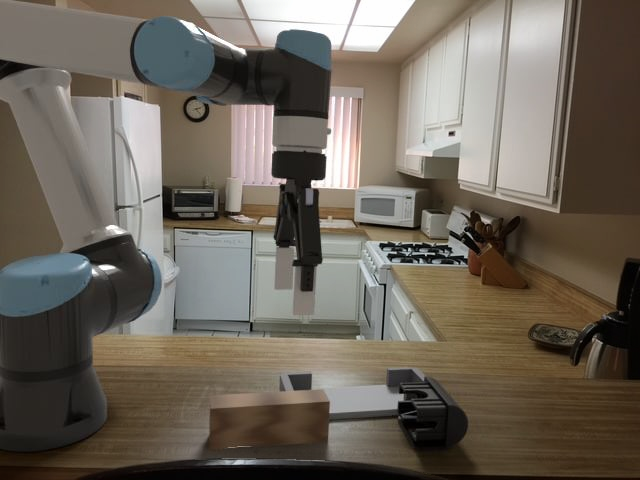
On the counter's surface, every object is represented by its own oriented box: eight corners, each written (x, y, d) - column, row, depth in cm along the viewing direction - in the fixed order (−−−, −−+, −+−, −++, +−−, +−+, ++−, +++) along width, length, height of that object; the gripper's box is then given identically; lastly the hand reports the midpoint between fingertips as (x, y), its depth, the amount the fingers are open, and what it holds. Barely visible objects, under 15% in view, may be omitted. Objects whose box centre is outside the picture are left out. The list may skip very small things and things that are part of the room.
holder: (285, 422, 78) (286, 396, 78) (277, 396, 87) (278, 372, 86) (437, 412, 83) (439, 388, 83) (415, 388, 92) (416, 366, 92)
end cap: (466, 451, 72) (470, 404, 71) (416, 453, 71) (419, 406, 70) (440, 417, 82) (443, 375, 81) (395, 418, 81) (398, 376, 80)
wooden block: (209, 451, 70) (210, 408, 69) (209, 436, 74) (209, 395, 73) (328, 442, 74) (329, 401, 73) (321, 428, 78) (323, 389, 77)
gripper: (354, 151, 62) (343, 326, 65) (305, 152, 86) (298, 280, 89) (291, 148, 60) (283, 328, 64) (259, 149, 84) (254, 280, 87)
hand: (292, 300), depth 76 cm, fingers open, 13 cm apart
